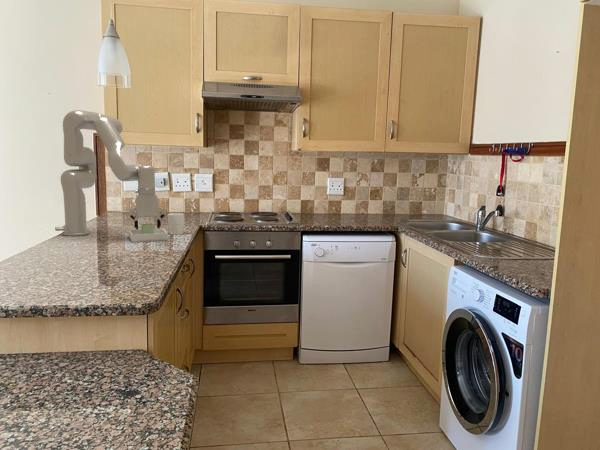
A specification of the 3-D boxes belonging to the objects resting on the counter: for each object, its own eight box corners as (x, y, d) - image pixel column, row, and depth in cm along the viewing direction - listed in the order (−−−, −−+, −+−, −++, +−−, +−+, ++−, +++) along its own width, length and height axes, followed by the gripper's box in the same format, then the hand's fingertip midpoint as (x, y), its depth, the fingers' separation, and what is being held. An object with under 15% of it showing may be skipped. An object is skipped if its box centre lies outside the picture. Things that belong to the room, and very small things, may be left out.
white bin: (131, 242, 218) (131, 234, 217) (128, 237, 232) (128, 229, 232) (168, 240, 224) (167, 233, 224) (163, 235, 239) (162, 228, 238)
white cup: (165, 234, 242) (164, 214, 241) (175, 232, 249) (175, 212, 248) (177, 235, 239) (176, 215, 237) (187, 233, 246) (187, 213, 244)
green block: (142, 238, 225) (142, 225, 224) (141, 236, 229) (141, 224, 228) (154, 237, 227) (153, 225, 226) (152, 236, 231) (152, 223, 230)
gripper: (127, 193, 218) (129, 230, 221) (167, 192, 225) (167, 229, 228) (126, 192, 225) (127, 228, 227) (164, 191, 232) (165, 226, 234)
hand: (147, 228), depth 227 cm, fingers open, 9 cm apart
